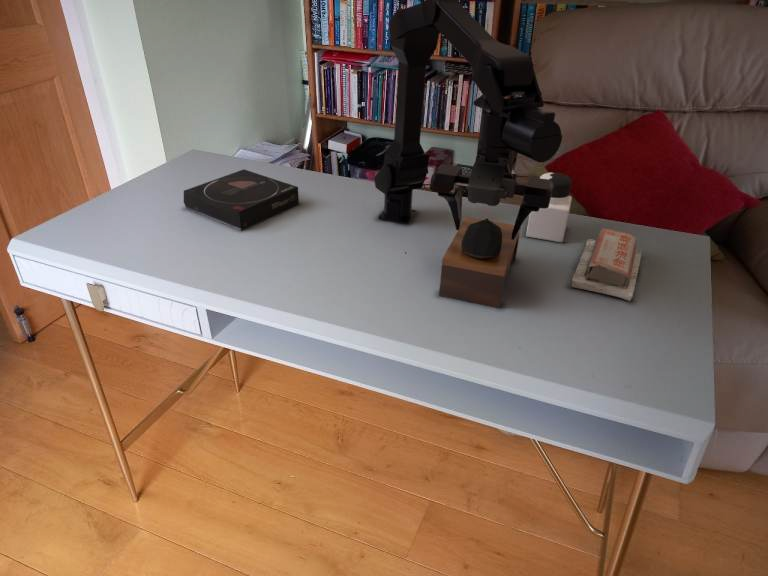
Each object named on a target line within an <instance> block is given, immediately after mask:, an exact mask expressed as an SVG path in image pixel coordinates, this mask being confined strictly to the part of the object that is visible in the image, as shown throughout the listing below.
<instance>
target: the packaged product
mask: <svg viewBox="0 0 768 576" xmlns="http://www.w3.org/2000/svg"><path fill="white" fill-rule="evenodd" d="M637 239H638V238H637V237H636V236H634V235H633V234H631V233H629V232H624V231H620V230H616V229H609V228H601V230H600V231H599V234H598V236H597V239H596V240H595V239H594V238H588V239H587V240H586V244H585V247H584V249H583V251H582V253H581V256H580V259H579V261H578V264H577V267H576V269H575V270H574V271H575V272H574V274H573V276H572V279H571V288H576V289H580V290H586V291H590V292H594V293H599V294H603V295H608V296H613V297H615V298H620V299H623V300H626V301H628V302H631V300H632V298H633V296H634V292H635V288H636V284H637V278H638V273H639V268H640V264H641V260H642V256H643V255H642V254H643V251H642V250H638V249H637Z"/></svg>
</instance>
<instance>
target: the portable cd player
mask: <svg viewBox="0 0 768 576" xmlns="http://www.w3.org/2000/svg"><path fill="white" fill-rule="evenodd" d="M299 199H300V198H299V186H296V185H293V184H290V183H287V182H283V181H281V180H278V179H275V178H272V177H269V176H266V175H263V174H260V173H257V172H254V171H252V170H251V171H250V170H248V169H244V168H243V169H241V170H238V171H234V172H231V173H229V174H227V175H224V176H221V177H218V178H215V179H212V180H210V181H207V182H204V183H201V184H199V185H196V186H193V187H190V188H187V189H185V190H183V204H184V206H185V208H186V210H189V211H191V212H194V213H196V214H199V215H201V216H203V217H206V218H208V219H211V220H213V221H216V222H218V223H221V224H222V225H226V226H229V227H231V228H233V229H236V230H239V231H243V230H245V229H248V228H250V227H252V226H254V225H257V224H259V223H261V222H263V221H266V220H268V219H270V218H272V217H274V216H275V217H276V215H280V214H281V213H283V212H285V211H288V210H290V209H292V208H294V207H297V206H299V205H300V200H299Z"/></svg>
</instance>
